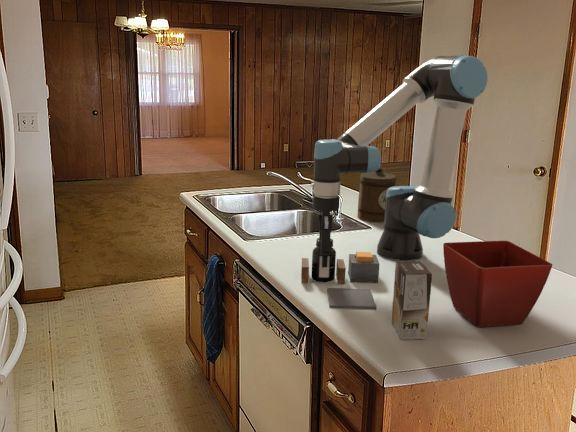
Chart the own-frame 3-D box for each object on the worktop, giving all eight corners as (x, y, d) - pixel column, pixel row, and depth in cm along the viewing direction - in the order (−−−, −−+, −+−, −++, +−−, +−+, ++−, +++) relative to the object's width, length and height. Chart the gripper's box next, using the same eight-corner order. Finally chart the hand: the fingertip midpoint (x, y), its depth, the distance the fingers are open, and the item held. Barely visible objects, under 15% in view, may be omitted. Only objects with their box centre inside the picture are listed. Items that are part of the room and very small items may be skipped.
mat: (370, 291, 155) (370, 289, 155) (376, 308, 144) (376, 306, 144) (327, 289, 156) (327, 287, 155) (329, 307, 144) (329, 305, 144)
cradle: (342, 275, 167) (343, 259, 166) (344, 284, 159) (345, 268, 158) (301, 273, 167) (301, 257, 166) (301, 283, 160) (301, 267, 158)
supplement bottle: (333, 284, 159) (334, 244, 156) (309, 281, 161) (310, 242, 158) (336, 275, 166) (337, 237, 163) (313, 273, 167) (314, 235, 164)
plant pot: (544, 330, 135) (555, 264, 130) (472, 335, 131) (481, 268, 126) (499, 298, 153) (507, 239, 148) (435, 303, 149) (441, 242, 144)
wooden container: (387, 224, 224) (391, 170, 219) (352, 219, 230) (355, 166, 225) (397, 216, 237) (401, 165, 232) (363, 211, 243) (366, 161, 238)
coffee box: (427, 339, 128) (433, 274, 124) (400, 340, 127) (405, 274, 123) (415, 322, 137) (420, 260, 133) (389, 322, 136) (394, 260, 132)
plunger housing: (374, 273, 169) (375, 254, 167) (378, 283, 161) (379, 263, 160) (348, 272, 169) (349, 254, 168) (350, 282, 161) (351, 263, 160)
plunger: (369, 271, 167) (370, 252, 165) (371, 276, 163) (372, 256, 161) (354, 270, 167) (356, 251, 165) (356, 276, 163) (357, 256, 161)
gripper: (312, 187, 167) (309, 260, 172) (313, 203, 148) (311, 284, 153) (337, 188, 166) (334, 261, 172) (342, 203, 147) (338, 285, 153)
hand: (323, 272), depth 163 cm, fingers closed on supplement bottle, 7 cm apart
